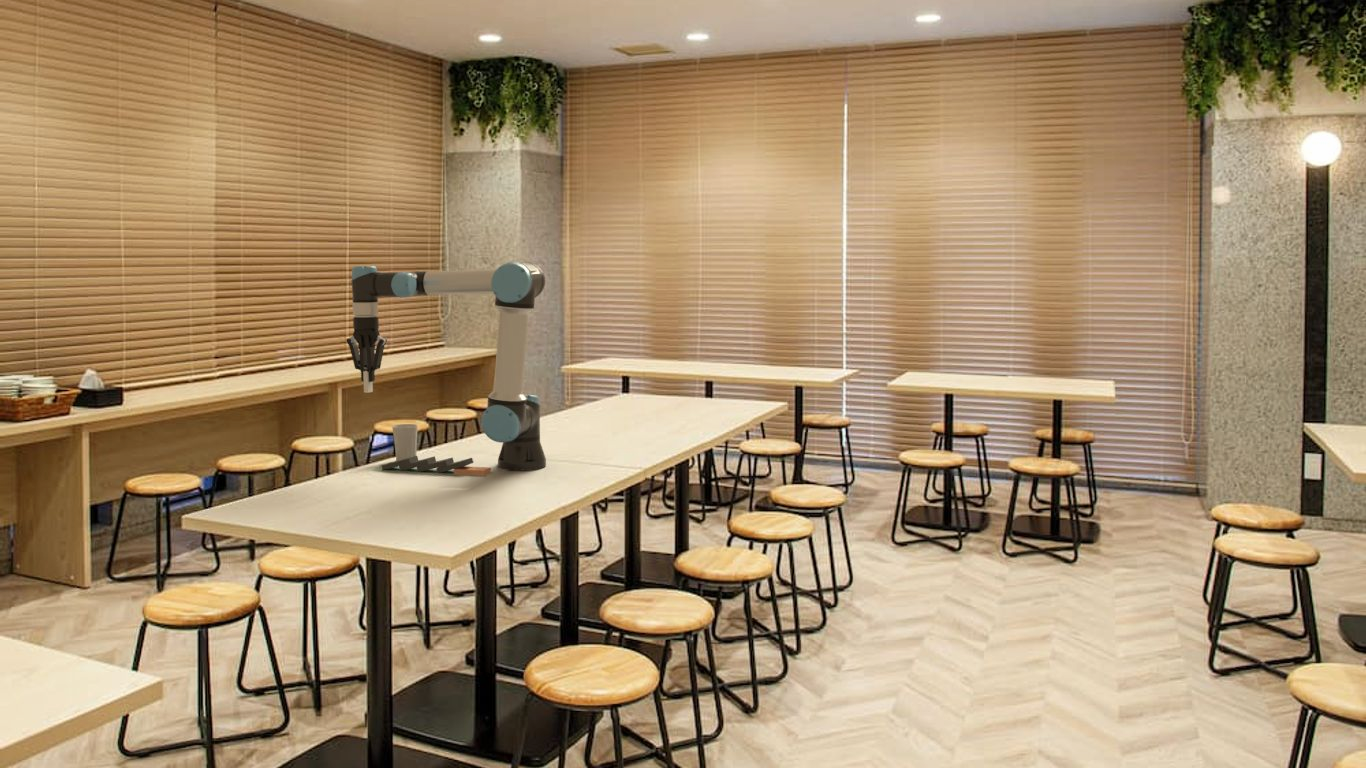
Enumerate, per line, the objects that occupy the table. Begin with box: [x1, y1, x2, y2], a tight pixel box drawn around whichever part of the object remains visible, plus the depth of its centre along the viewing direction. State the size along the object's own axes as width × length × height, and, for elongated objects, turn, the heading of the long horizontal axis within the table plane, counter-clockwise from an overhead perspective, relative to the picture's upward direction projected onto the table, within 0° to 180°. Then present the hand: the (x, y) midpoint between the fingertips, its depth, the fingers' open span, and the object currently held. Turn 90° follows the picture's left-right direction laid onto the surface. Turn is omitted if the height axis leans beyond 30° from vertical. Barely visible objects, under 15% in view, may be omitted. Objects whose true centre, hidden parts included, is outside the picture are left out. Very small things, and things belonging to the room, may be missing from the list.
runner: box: [370, 466, 494, 478], centre depth 332 cm, size 38×7×1 cm, turn 76°
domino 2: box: [398, 456, 437, 471], centre depth 333 cm, size 2×5×10 cm
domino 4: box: [435, 457, 474, 473], centre depth 330 cm, size 2×5×10 cm
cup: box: [392, 423, 419, 461], centre depth 348 cm, size 8×8×12 cm
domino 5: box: [453, 465, 492, 477], centre depth 329 cm, size 2×5×10 cm
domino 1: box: [380, 455, 419, 470], centre depth 335 cm, size 2×5×10 cm
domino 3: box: [416, 456, 455, 472], centre depth 332 cm, size 2×5×10 cm
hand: (368, 392), depth 335 cm, fingers closed
